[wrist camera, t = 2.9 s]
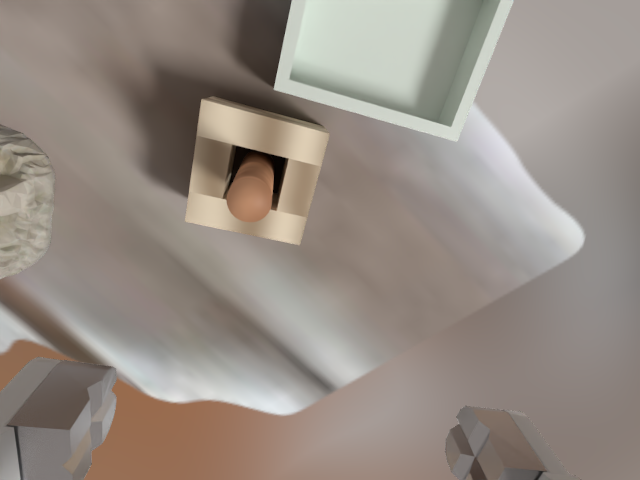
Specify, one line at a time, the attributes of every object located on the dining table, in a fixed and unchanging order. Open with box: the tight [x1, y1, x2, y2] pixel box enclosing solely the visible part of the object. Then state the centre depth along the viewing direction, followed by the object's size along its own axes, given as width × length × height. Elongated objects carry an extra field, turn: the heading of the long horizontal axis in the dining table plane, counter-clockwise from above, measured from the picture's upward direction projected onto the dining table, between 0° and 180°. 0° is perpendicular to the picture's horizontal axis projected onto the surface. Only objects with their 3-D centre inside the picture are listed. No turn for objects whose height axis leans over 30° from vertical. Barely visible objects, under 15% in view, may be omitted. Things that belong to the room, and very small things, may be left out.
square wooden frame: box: [185, 96, 330, 245], centre depth 32 cm, size 10×10×5 cm
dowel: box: [226, 150, 275, 222], centre depth 29 cm, size 3×3×11 cm
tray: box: [274, 0, 514, 142], centre depth 29 cm, size 16×12×4 cm
